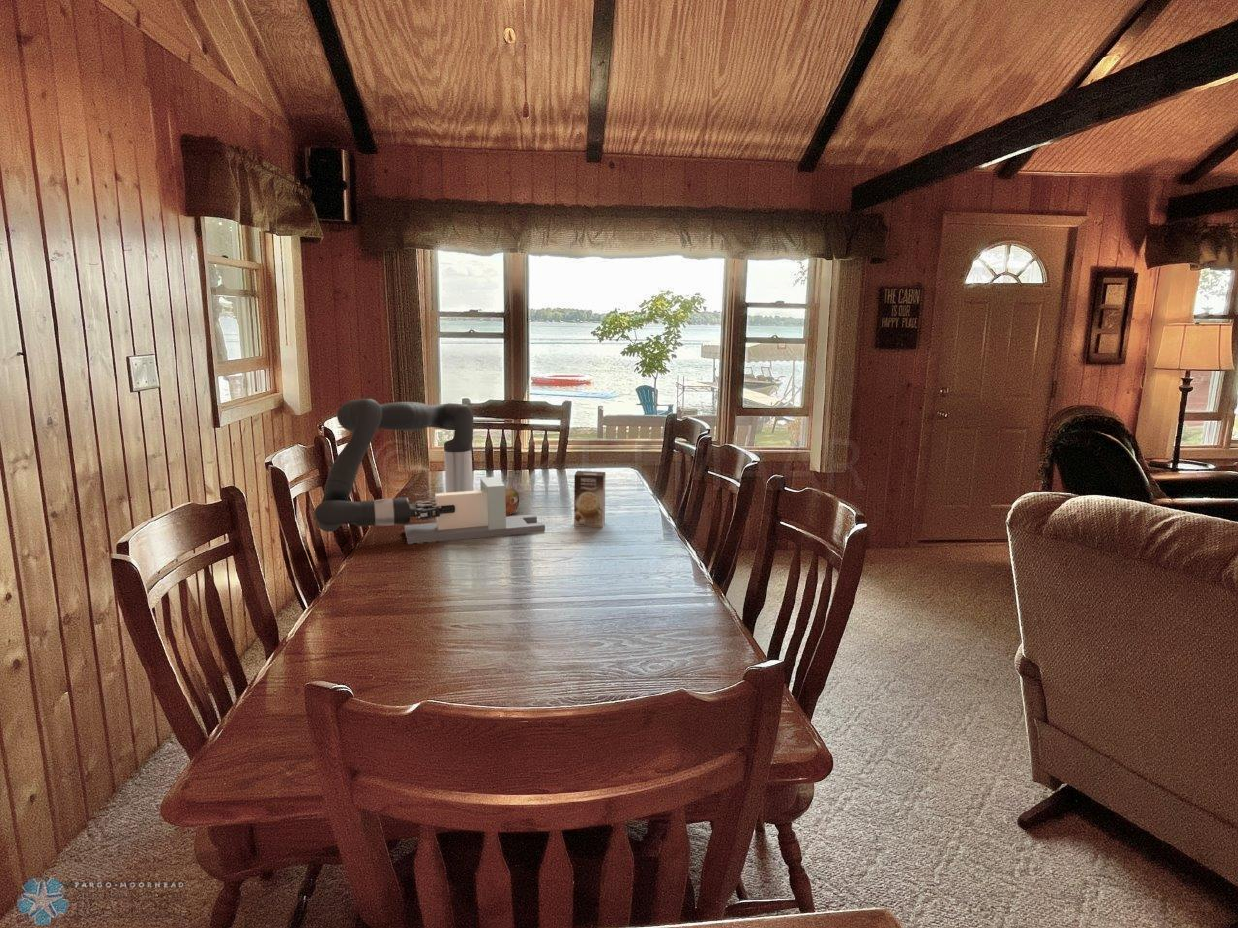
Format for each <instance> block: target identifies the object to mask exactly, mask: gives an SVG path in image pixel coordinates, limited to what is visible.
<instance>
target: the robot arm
mask: <svg viewBox="0 0 1238 928" xmlns="http://www.w3.org/2000/svg"><path fill="white" fill-rule="evenodd" d="M336 415H337V417H336V418H337V421H338V423H339V425H341V427H342V428H343V429H344V430H346V431H349V432H352V434H351V437H350V439H349V440H348V442H347V444H346V445H345V446H344V447H343V449H342V450H341V451H340V453H339V454H338V455H337V456H336V458H335V459H334V461H333V463H332V464H331V467H330V469H329V472H328V475H327V478H326V481H325V484H324V492H323V493H324V494H323V498H322V500H321V502H320V503H319V504H318V505H317V506H316V507H315V509H314V518H315V522H316V521H317V523H316V524H317V528H319V529H320V530H322V531H324V532H329V533H330V532H334V531H336V530H338V529H339V528H340V527H341V526H342V525H354V526H356V527H371V526H395V525H396V526H397V525H410V522H411V517H413V518H414V517H415V518H416V519H420V520H422V521H423V520H429V519H432V518H436V517H439V516H440V515H441V514H445V513H454V512H455V506H454V505H445V506H440V505H439V506H436V500H434V499H433V500H430V499H429V500H427V499H426V500H425V499H423V500H422V499H417V500H415V502H413V503H410V500H409V497H405V496H404V497H391V498H381V499H380V498H379V499H376V500H363V501H362V500H361V501H353V500H352V501H351V500H349V497H350V494H351V492H352V489H353V486H354V483H355V480H356V476H357V474H358V471H359V468H360V466H361V463H362V460H363V458H364V456H365V455H366V452H367V451H368V449H369V447H370V445H371V442H372V440H373V438H374V437H375V434H376V433H377V431H378V430H379V429H381V430H387V431H403V432H414V431H417V432H418V431H423V430H426V429H428V428H437V429H441V430H442V429H443V430H447V431H454V433H453V438H451V439H450V440H447V441H445V442H444V443H443V450H444V451H443V454H444V456H443V457H444V481H445V493H450V492H463V491H474V490H473V460H472V458H473V456H472V445H473V441H474V413H473V410H472V408H471V407H470V406H469V405H468V404H464V403H463V404H462V403H451V402H449V403H442V404H433V405H431V404H426V403H423V402H419V401H395V402H388V403H378V401H376V400H375V399H373V398H359V399H353V400H349V401H347V402H345V403H343V404H341V406H340V407H339V408H338V410H337V413H336Z"/></svg>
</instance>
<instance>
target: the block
mask: <svg viewBox="0 0 1238 928" xmlns="http://www.w3.org/2000/svg"><path fill="white" fill-rule="evenodd" d="M434 495H435V496H434V497H435V498H434V499H435V501H436V506H439V505H440V506H445V505H454V506H455V512H454V513H445V514H441V515H440V516H439V517H435V519H436V522H435V523H437V529H438V530H445V529H456V528H467V527H478V526H488V503H487V490H481V489H478V490H473V491H463V492H450V493H446V492H441V493H440V492H439V493H437V492H436V493H434Z"/></svg>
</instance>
